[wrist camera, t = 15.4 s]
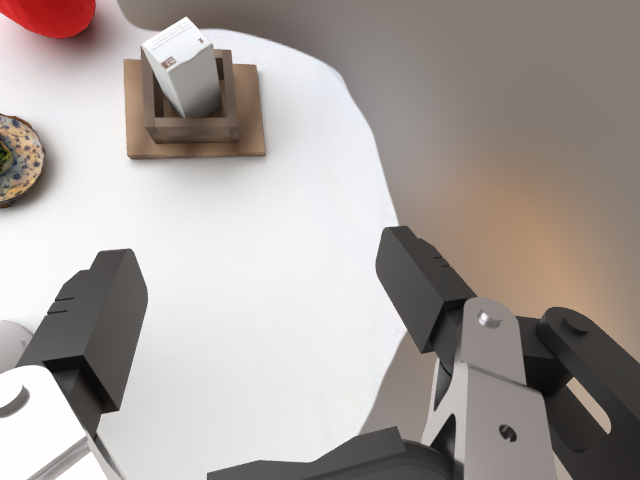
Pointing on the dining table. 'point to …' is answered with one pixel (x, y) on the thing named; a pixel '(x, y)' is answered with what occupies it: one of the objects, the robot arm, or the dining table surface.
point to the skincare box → (185, 69)
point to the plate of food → (18, 158)
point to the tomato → (50, 15)
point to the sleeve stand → (193, 133)
